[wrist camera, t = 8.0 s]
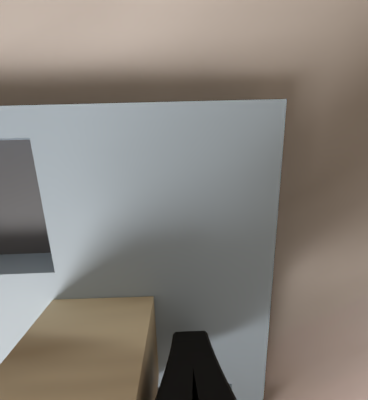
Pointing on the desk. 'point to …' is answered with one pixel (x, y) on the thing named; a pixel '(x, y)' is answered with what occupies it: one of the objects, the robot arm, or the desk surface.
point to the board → (146, 218)
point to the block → (86, 352)
